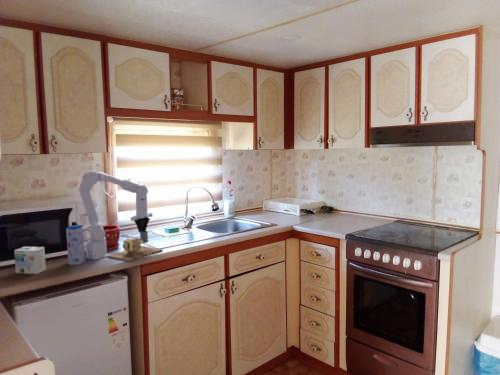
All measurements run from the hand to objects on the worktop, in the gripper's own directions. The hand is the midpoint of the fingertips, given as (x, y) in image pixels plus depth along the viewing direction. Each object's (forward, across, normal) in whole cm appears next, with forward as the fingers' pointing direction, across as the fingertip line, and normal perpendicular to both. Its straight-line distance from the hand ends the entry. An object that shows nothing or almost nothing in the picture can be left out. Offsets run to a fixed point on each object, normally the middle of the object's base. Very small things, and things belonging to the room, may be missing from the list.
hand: (142, 232), depth 210 cm
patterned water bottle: (+11, -30, +15) cm, 35 cm away
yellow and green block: (+5, -7, -2) cm, 9 cm away
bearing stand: (+10, -7, -2) cm, 13 cm away
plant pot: (+11, -5, +21) cm, 24 cm away
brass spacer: (+7, -12, -1) cm, 14 cm away
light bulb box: (+11, -48, +23) cm, 54 cm away
